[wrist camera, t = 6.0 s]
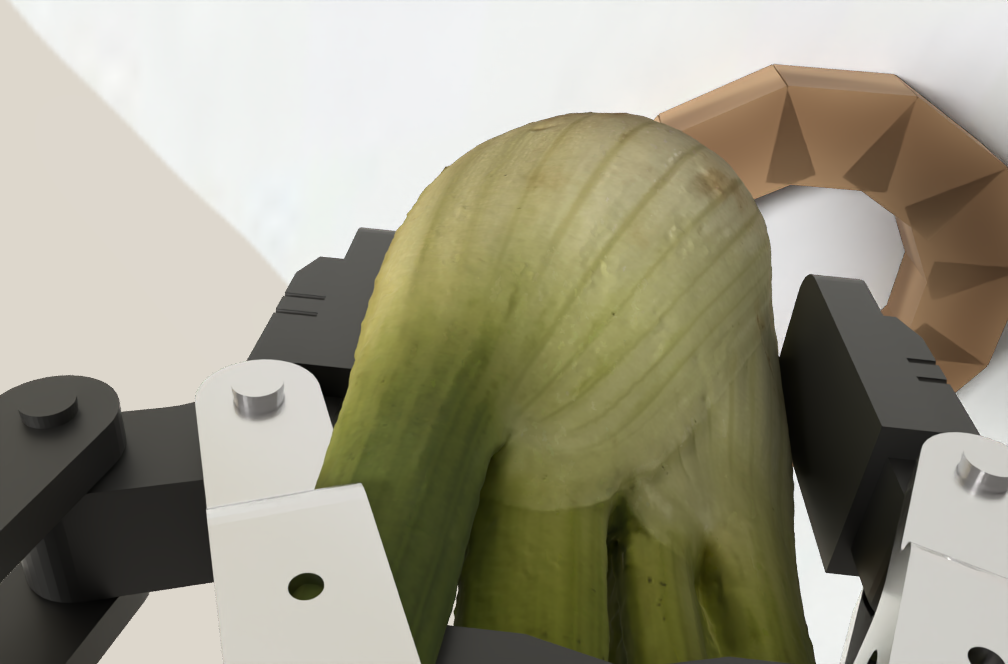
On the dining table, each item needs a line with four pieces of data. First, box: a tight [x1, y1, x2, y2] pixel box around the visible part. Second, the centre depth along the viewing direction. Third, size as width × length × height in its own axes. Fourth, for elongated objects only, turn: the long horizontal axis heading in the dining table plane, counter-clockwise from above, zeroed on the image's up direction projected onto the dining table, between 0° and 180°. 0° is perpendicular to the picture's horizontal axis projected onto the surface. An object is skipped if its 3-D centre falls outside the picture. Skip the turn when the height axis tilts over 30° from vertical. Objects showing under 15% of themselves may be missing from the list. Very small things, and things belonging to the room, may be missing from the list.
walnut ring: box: [654, 64, 1008, 467], centre depth 31 cm, size 14×14×2 cm
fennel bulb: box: [292, 112, 816, 664], centre depth 11 cm, size 6×5×12 cm
